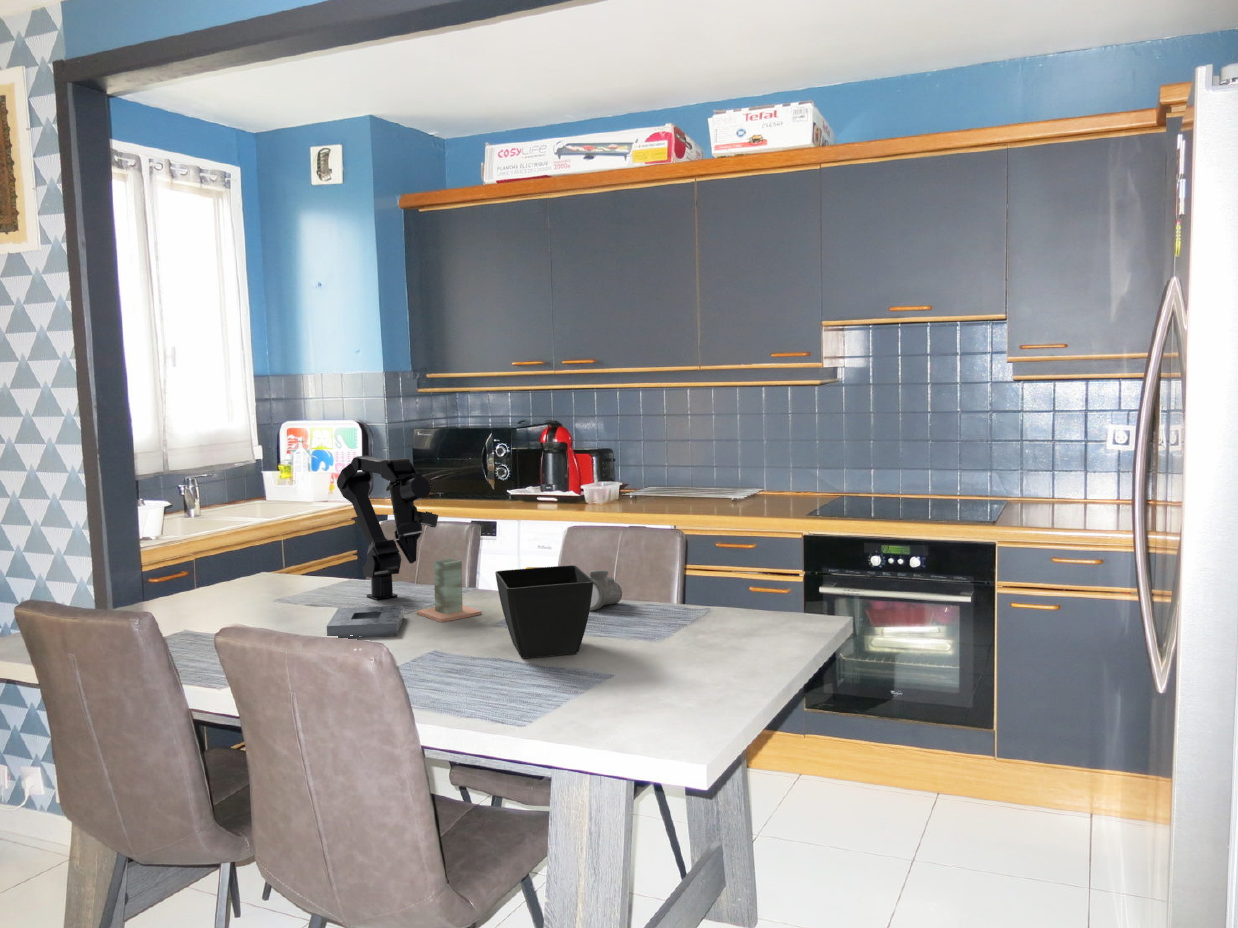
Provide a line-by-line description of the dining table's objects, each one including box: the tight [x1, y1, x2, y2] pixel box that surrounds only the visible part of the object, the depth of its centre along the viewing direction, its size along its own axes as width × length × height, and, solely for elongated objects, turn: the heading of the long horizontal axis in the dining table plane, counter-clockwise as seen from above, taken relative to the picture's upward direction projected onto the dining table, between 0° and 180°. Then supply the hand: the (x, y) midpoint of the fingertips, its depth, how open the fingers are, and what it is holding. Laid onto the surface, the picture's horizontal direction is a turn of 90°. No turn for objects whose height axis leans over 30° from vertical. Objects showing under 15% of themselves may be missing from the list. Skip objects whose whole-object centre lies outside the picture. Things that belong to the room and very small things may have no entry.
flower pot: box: [495, 564, 593, 659], centre depth 216 cm, size 19×19×17 cm
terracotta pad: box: [415, 605, 482, 623], centre depth 250 cm, size 12×12×1 cm
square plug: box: [433, 558, 464, 614], centre depth 250 cm, size 5×5×13 cm
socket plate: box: [326, 605, 404, 639], centre depth 237 cm, size 18×16×3 cm
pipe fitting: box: [588, 569, 623, 612], centre depth 257 cm, size 12×8×10 cm, turn 142°
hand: (413, 562), depth 258 cm, fingers open, 9 cm apart
